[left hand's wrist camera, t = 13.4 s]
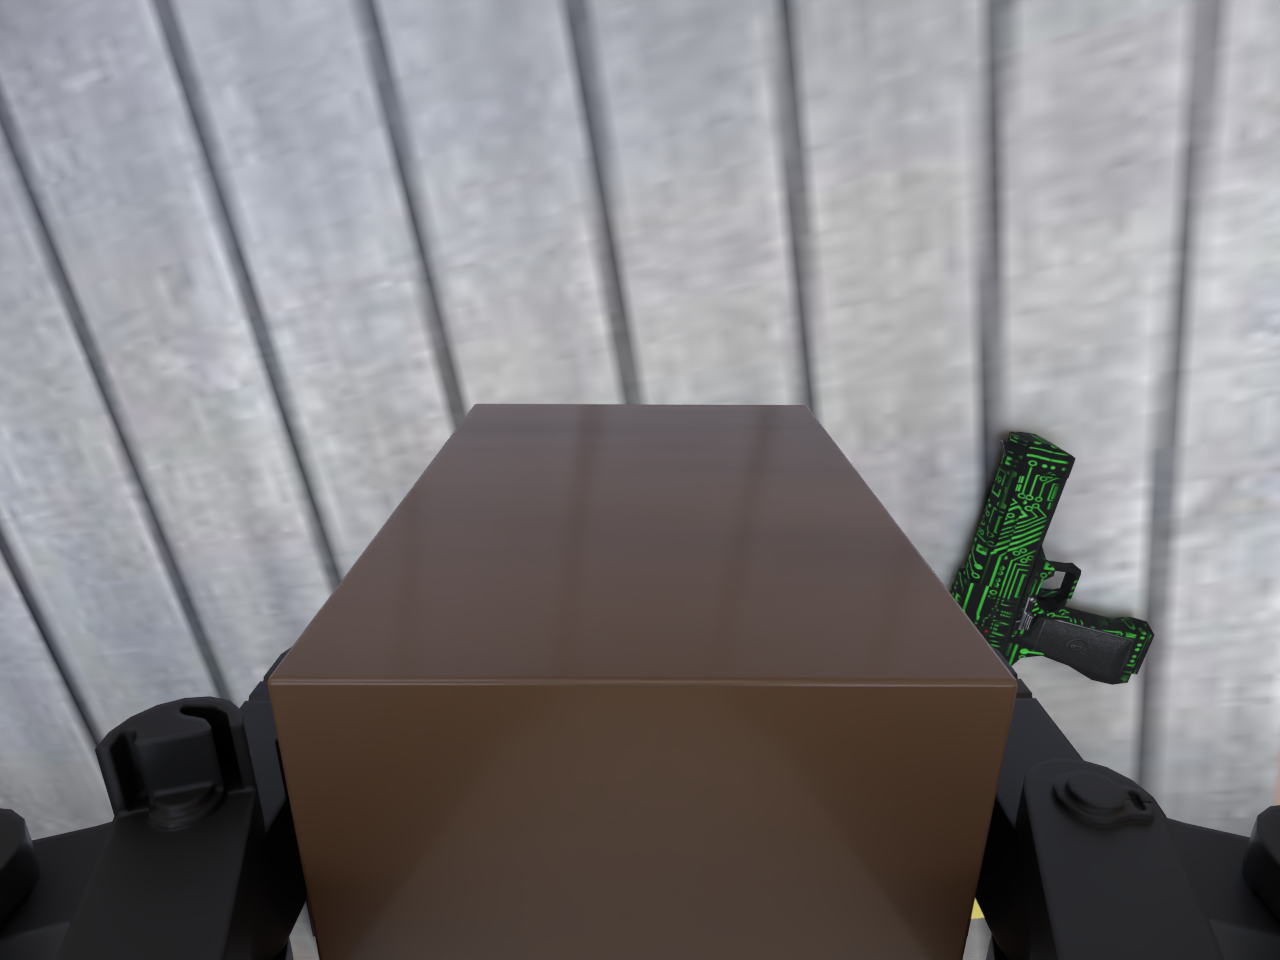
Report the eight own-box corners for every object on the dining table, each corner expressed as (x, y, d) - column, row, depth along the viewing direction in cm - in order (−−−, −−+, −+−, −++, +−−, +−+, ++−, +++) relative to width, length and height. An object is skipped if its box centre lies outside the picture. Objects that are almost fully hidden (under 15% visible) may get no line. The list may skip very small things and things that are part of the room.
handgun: (1122, 712, 53) (916, 668, 51) (1096, 687, 56) (900, 644, 54) (1242, 494, 48) (1018, 437, 46) (1207, 478, 51) (995, 423, 49)
